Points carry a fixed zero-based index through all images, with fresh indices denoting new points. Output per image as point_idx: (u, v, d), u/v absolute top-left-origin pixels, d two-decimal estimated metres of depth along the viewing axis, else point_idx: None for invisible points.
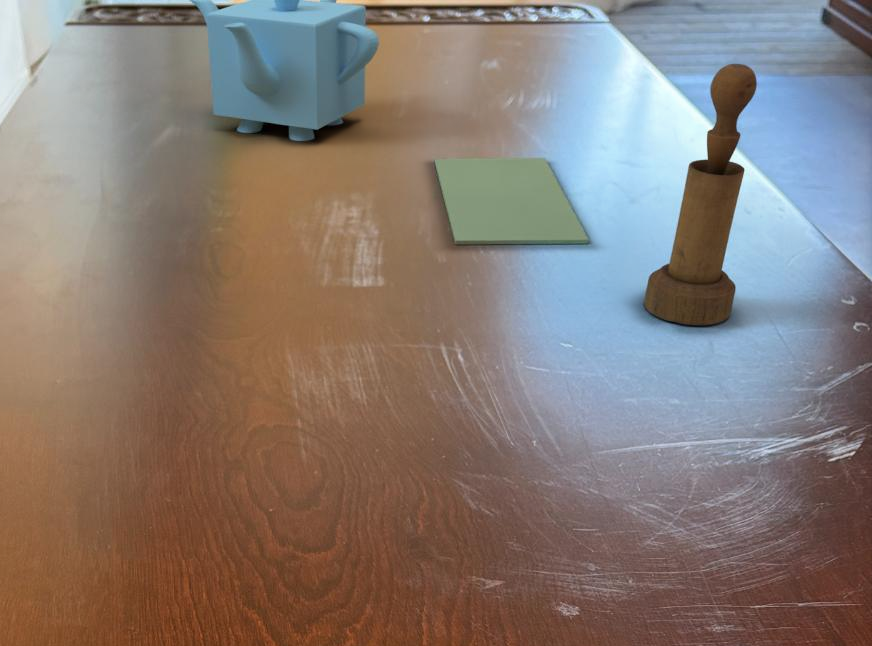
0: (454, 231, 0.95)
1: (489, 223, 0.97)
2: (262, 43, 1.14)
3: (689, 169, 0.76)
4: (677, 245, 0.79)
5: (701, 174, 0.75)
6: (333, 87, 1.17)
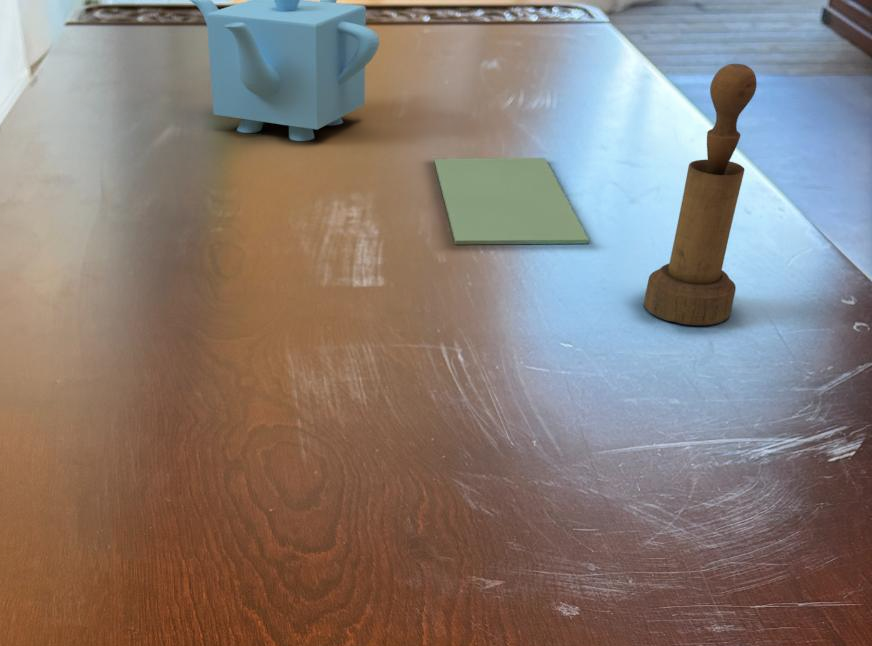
0: (454, 231, 0.95)
1: (489, 223, 0.97)
2: (262, 43, 1.14)
3: (689, 169, 0.76)
4: (677, 245, 0.79)
5: (701, 174, 0.75)
6: (333, 87, 1.17)
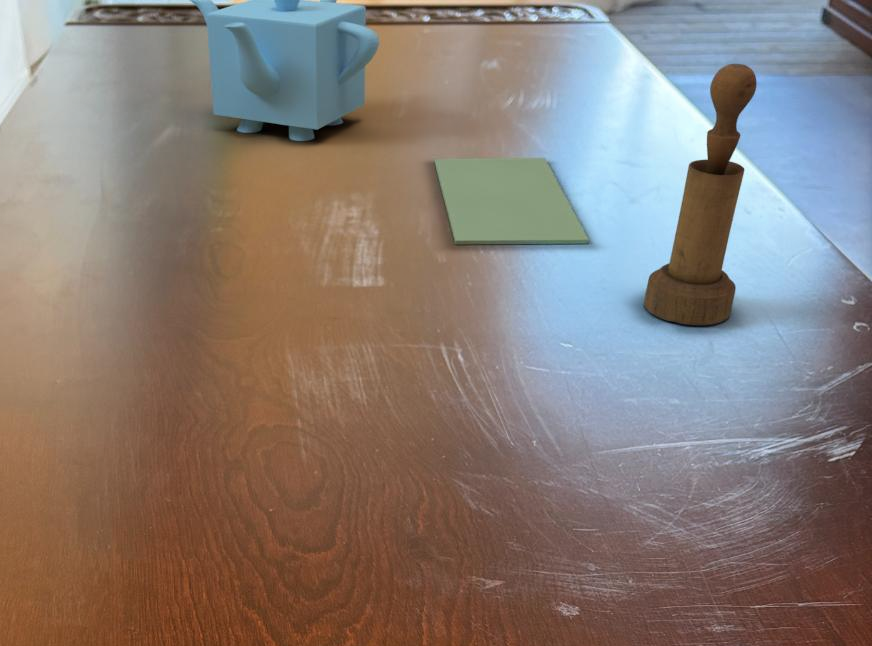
0: (454, 231, 0.95)
1: (489, 223, 0.97)
2: (262, 43, 1.14)
3: (689, 169, 0.76)
4: (677, 245, 0.79)
5: (701, 174, 0.75)
6: (333, 87, 1.17)
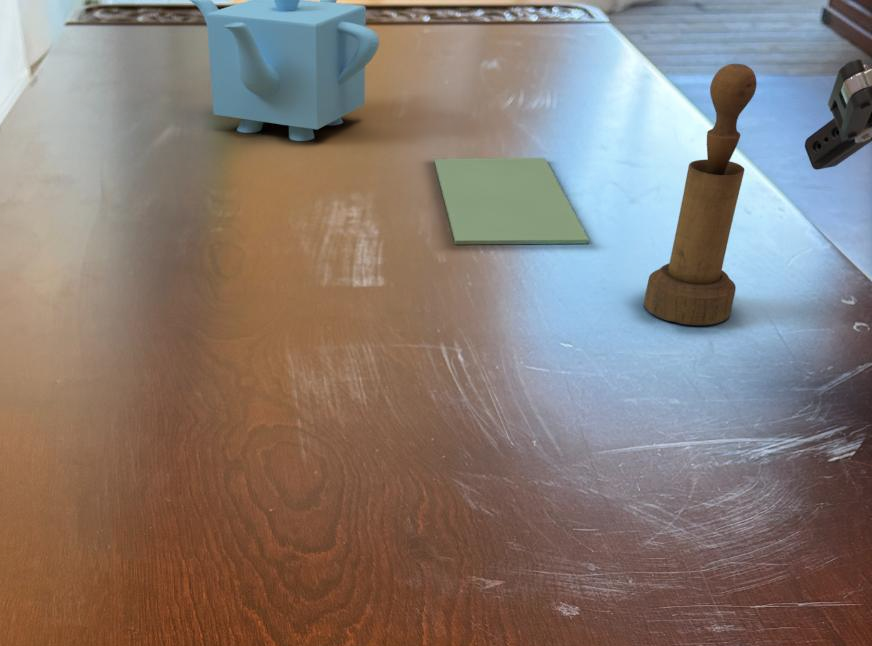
0: (454, 231, 0.95)
1: (489, 223, 0.97)
2: (262, 43, 1.14)
3: (689, 169, 0.76)
4: (677, 245, 0.79)
5: (701, 174, 0.75)
6: (333, 87, 1.17)
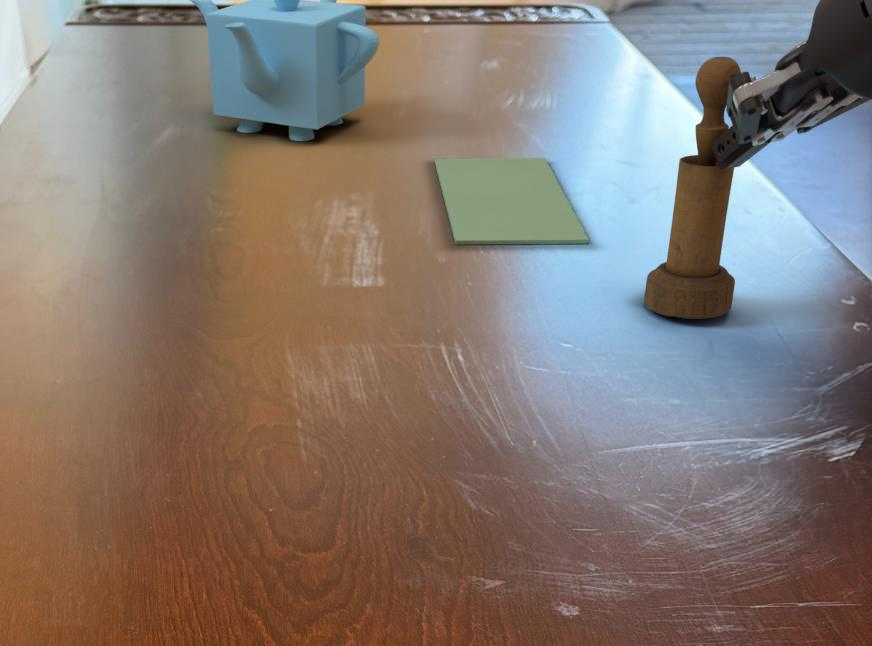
0: (454, 231, 0.95)
1: (489, 223, 0.97)
2: (262, 43, 1.14)
3: (680, 163, 0.76)
4: (673, 240, 0.79)
5: (692, 166, 0.75)
6: (333, 87, 1.17)
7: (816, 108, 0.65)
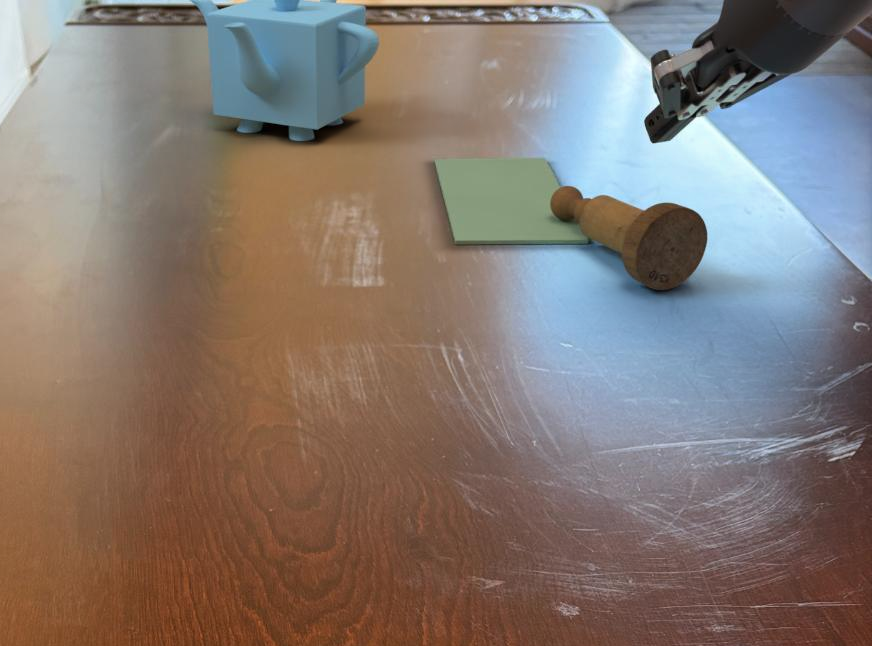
0: (454, 231, 0.95)
1: (489, 223, 0.97)
2: (262, 43, 1.14)
3: (580, 225, 0.92)
4: (615, 236, 0.87)
5: (583, 209, 0.91)
6: (333, 87, 1.17)
7: (731, 83, 0.71)
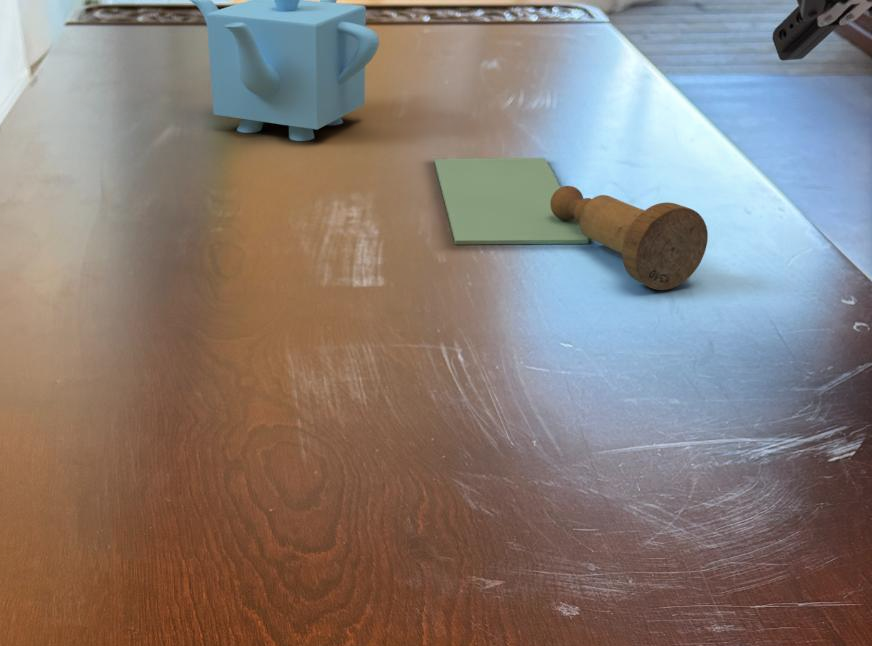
0: (454, 231, 0.95)
1: (489, 223, 0.97)
2: (262, 43, 1.14)
3: (580, 225, 0.92)
4: (615, 235, 0.87)
5: (583, 209, 0.91)
6: (333, 87, 1.17)
7: None
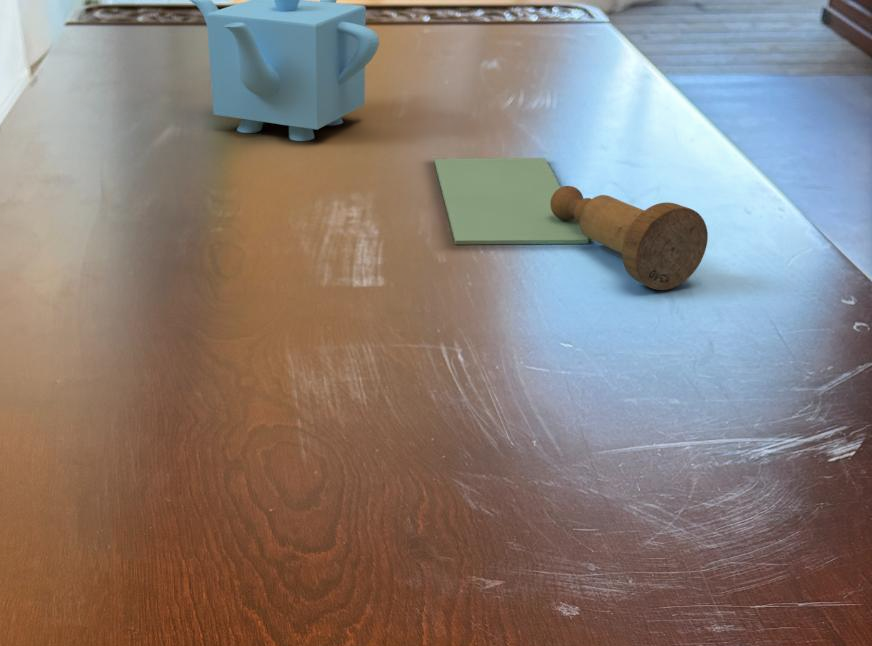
0: (454, 231, 0.95)
1: (489, 223, 0.97)
2: (262, 43, 1.14)
3: (580, 225, 0.92)
4: (615, 235, 0.87)
5: (583, 209, 0.91)
6: (333, 87, 1.17)
7: None
